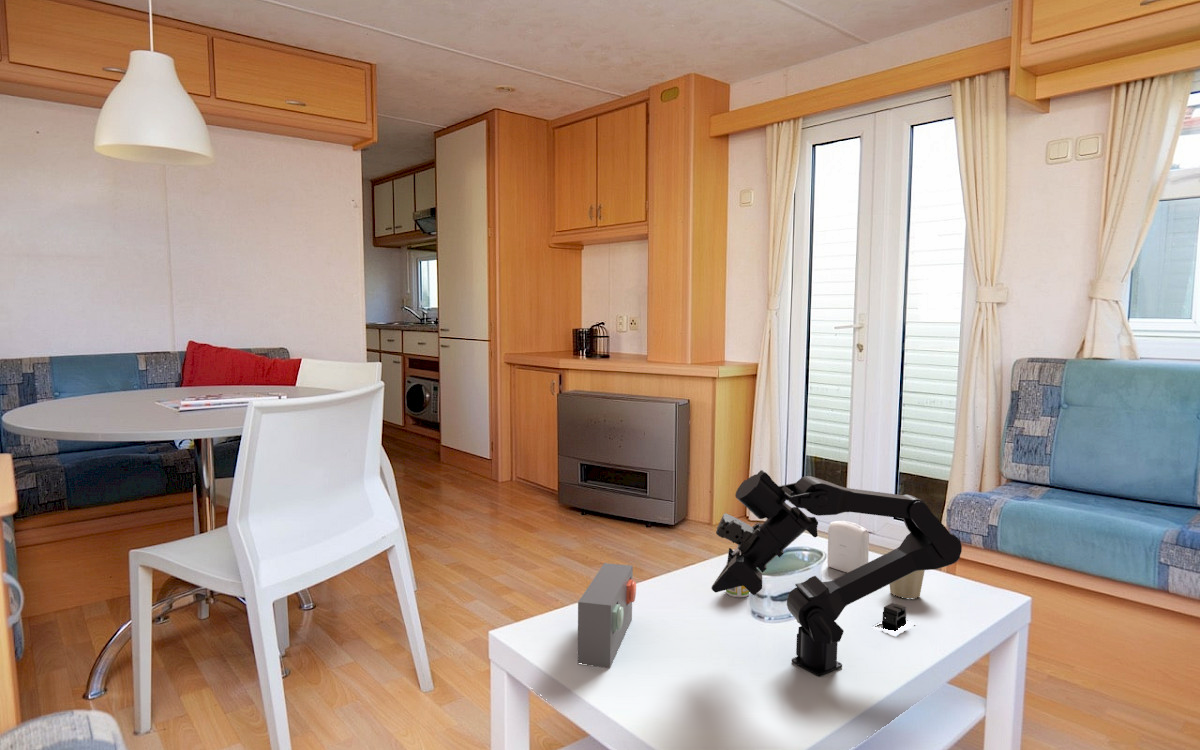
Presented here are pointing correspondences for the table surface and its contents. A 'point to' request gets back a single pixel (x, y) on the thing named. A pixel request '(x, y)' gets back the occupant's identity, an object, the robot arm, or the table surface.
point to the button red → (631, 591)
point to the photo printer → (847, 546)
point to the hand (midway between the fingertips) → (713, 589)
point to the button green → (617, 617)
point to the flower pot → (908, 585)
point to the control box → (603, 615)
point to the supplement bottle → (738, 591)
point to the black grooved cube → (893, 617)
